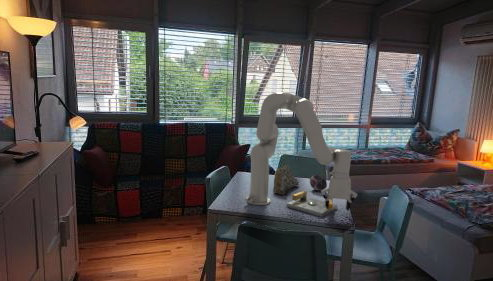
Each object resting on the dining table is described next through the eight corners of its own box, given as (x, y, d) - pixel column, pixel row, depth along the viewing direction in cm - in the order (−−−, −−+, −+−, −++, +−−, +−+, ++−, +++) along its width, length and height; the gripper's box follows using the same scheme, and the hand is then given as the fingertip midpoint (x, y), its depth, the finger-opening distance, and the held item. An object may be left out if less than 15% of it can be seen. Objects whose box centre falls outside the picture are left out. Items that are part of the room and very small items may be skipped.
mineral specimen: (328, 192, 200) (329, 176, 199) (311, 192, 200) (312, 176, 198) (323, 188, 210) (324, 172, 209) (307, 187, 209) (308, 172, 208)
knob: (333, 211, 162) (334, 204, 162) (326, 211, 163) (327, 203, 162) (331, 204, 173) (332, 197, 173) (324, 203, 174) (325, 196, 173)
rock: (284, 197, 189) (286, 171, 186) (268, 193, 194) (269, 168, 191) (301, 186, 212) (303, 163, 210) (286, 183, 217) (288, 161, 215)
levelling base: (321, 217, 160) (322, 212, 160) (286, 206, 173) (286, 201, 172) (337, 208, 173) (337, 203, 173) (303, 199, 186) (303, 194, 185)
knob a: (296, 202, 173) (297, 196, 172) (290, 201, 175) (291, 194, 174) (307, 198, 181) (308, 191, 181) (301, 196, 184) (302, 190, 183)
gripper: (323, 175, 158) (320, 210, 161) (361, 178, 157) (357, 213, 159) (321, 171, 165) (318, 204, 168) (357, 174, 164) (353, 207, 167)
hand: (337, 208), depth 164 cm, fingers open, 9 cm apart
